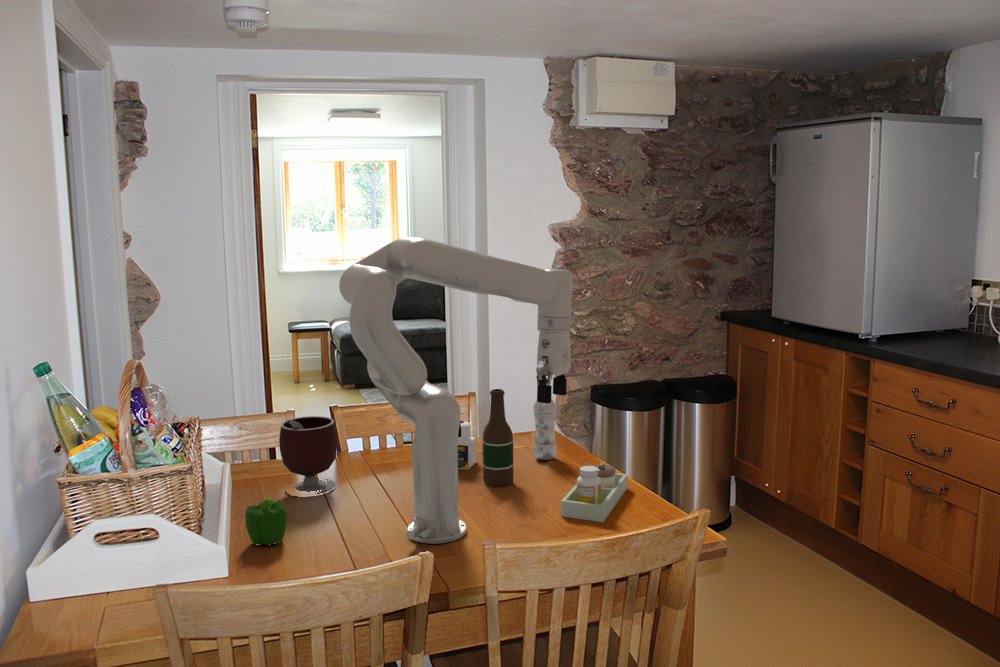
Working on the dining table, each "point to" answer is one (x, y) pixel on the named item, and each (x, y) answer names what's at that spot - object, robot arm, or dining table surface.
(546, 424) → the plastic bottle
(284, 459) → the mate gourd
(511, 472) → the beer bottle
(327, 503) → the dining table surface
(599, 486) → the supplement bottle
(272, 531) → the bell pepper
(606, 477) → the jar
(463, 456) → the medicine bottle
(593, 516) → the caddy
